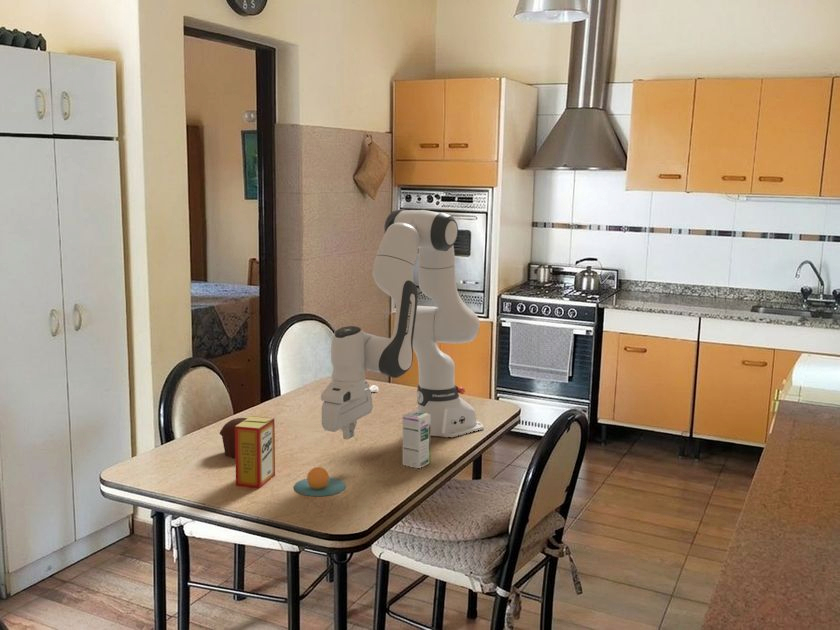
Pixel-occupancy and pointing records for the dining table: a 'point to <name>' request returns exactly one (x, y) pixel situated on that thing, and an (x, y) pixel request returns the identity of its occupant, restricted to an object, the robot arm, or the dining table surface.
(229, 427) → the muffin
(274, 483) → the dining table surface
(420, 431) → the syrup box
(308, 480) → the ball
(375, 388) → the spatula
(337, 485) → the teal plate
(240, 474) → the baking soda box
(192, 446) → the dining table surface
